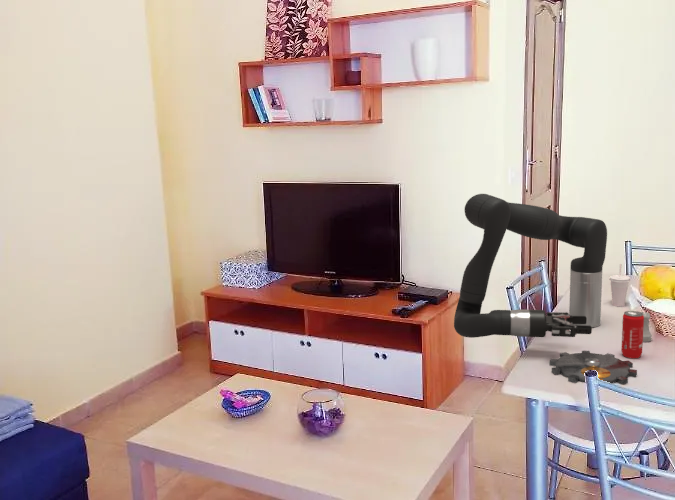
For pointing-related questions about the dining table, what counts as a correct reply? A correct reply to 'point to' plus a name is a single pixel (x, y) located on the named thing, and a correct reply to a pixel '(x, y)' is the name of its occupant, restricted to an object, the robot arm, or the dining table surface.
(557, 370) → the sprocket
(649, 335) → the rook chess piece
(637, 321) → the beverage can
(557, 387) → the dining table surface
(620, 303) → the smoothie
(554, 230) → the robot arm
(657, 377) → the dining table surface
